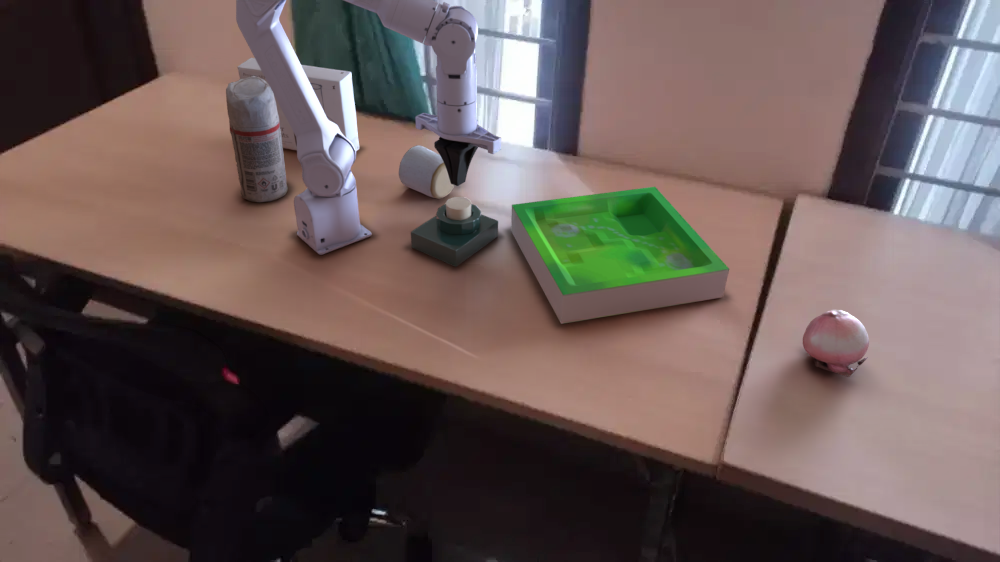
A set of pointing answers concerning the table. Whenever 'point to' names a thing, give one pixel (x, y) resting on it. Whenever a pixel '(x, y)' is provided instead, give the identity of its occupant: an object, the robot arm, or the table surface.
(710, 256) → the tray
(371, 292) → the table surface
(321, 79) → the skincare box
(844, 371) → the onion
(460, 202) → the white push button
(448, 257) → the dark green button base
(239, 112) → the spray can
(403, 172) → the ceramic mug
